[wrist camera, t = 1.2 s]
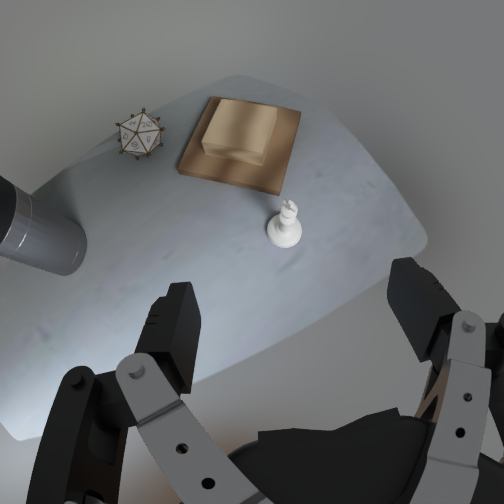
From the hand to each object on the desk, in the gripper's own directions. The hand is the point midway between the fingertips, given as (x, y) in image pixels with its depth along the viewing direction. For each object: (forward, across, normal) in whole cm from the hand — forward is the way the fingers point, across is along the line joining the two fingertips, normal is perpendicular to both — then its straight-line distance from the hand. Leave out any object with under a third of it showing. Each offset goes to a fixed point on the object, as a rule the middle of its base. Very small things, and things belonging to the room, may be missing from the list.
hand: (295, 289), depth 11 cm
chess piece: (+28, -2, +11) cm, 30 cm away
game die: (+40, +19, -2) cm, 44 cm away
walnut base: (+38, +2, -1) cm, 38 cm away
